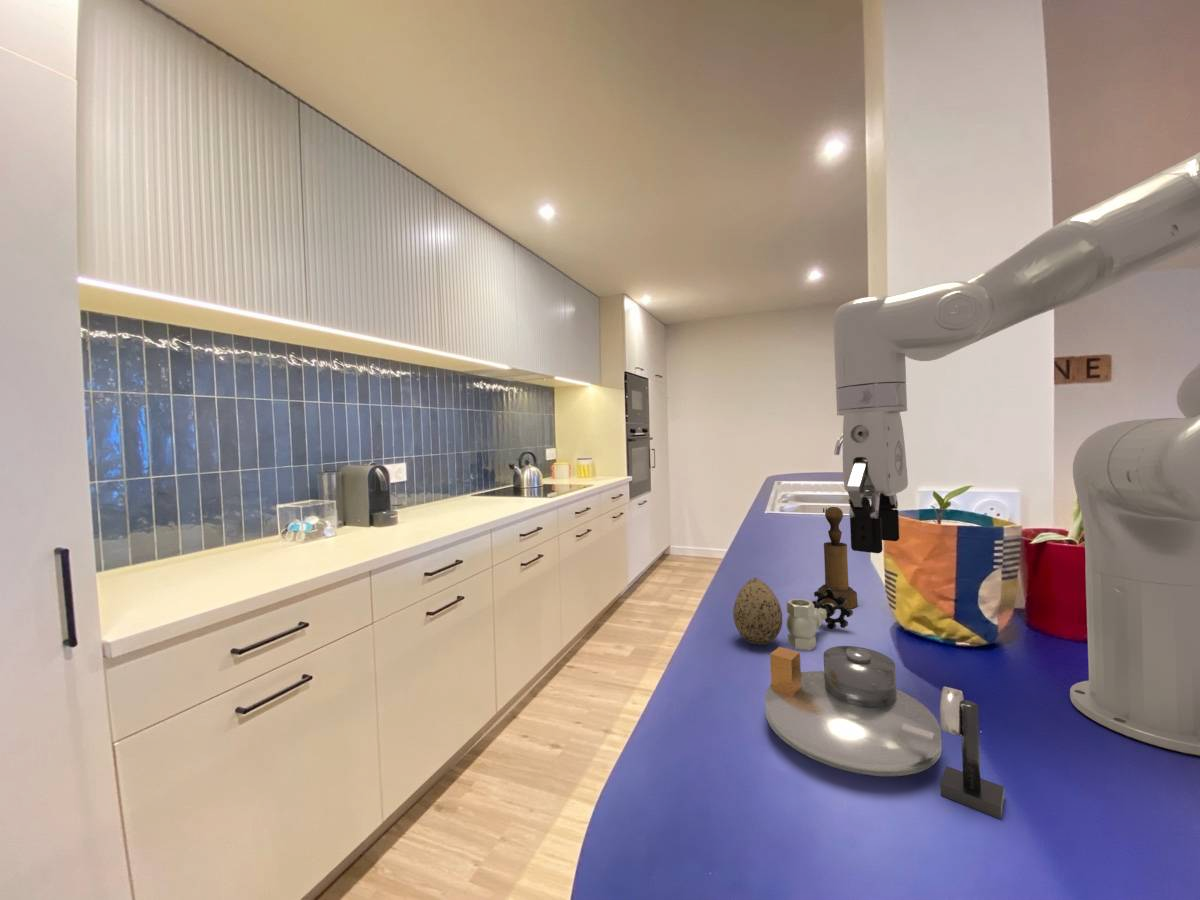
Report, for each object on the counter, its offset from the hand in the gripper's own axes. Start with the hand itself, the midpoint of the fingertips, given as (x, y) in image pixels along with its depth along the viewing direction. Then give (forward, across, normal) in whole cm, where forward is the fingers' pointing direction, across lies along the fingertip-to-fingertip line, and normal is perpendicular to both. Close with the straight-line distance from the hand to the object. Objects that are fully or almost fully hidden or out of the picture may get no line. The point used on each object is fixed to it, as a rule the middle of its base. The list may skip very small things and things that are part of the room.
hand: (876, 544), depth 58 cm
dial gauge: (+18, -15, -10) cm, 26 cm away
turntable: (+16, -13, 0) cm, 21 cm away
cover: (+15, -8, 0) cm, 17 cm away
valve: (+18, +10, +12) cm, 24 cm away
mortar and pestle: (+18, +28, +14) cm, 36 cm away
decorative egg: (+18, +3, +17) cm, 25 cm away
